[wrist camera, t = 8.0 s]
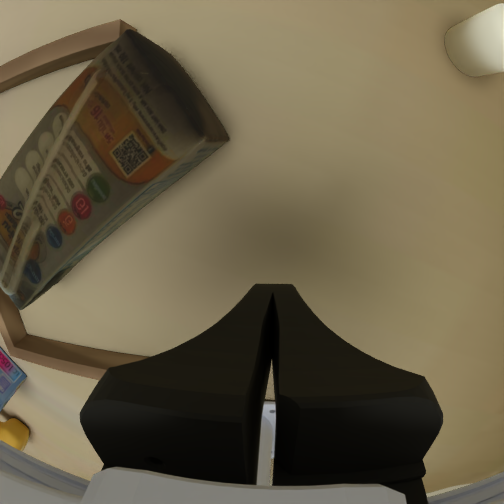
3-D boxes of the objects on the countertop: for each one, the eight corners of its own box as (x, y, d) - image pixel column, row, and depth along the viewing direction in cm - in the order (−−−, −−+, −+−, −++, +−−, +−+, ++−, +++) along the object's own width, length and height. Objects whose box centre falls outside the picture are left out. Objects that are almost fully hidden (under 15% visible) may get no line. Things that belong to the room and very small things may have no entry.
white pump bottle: (490, 82, 15) (564, 75, 8) (447, 69, 15) (518, 50, 8) (484, 34, 14) (551, 12, 6) (441, 19, 14) (504, -17, 7)
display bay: (166, 371, 26) (158, 391, 23) (22, 343, 27) (10, 355, 25) (136, 29, 16) (120, 19, 14) (-22, 89, 18) (-41, 90, 15)
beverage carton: (13, 210, 22) (-39, 234, 16) (170, 45, 17) (126, 14, 11) (60, 282, 24) (15, 320, 18) (239, 137, 19) (219, 137, 13)
